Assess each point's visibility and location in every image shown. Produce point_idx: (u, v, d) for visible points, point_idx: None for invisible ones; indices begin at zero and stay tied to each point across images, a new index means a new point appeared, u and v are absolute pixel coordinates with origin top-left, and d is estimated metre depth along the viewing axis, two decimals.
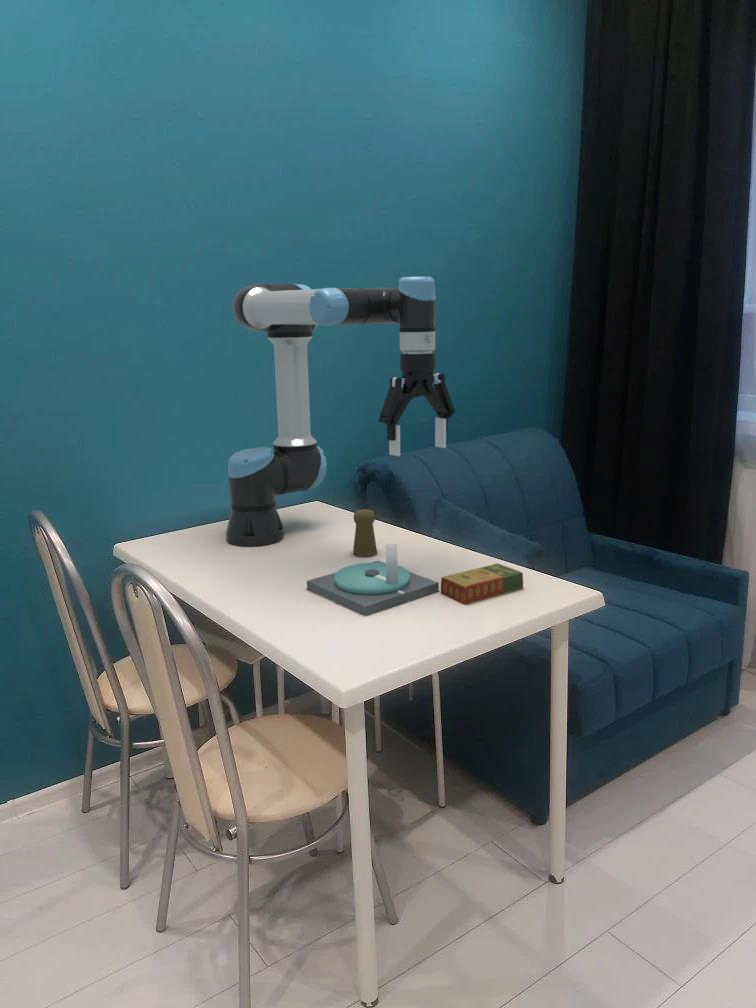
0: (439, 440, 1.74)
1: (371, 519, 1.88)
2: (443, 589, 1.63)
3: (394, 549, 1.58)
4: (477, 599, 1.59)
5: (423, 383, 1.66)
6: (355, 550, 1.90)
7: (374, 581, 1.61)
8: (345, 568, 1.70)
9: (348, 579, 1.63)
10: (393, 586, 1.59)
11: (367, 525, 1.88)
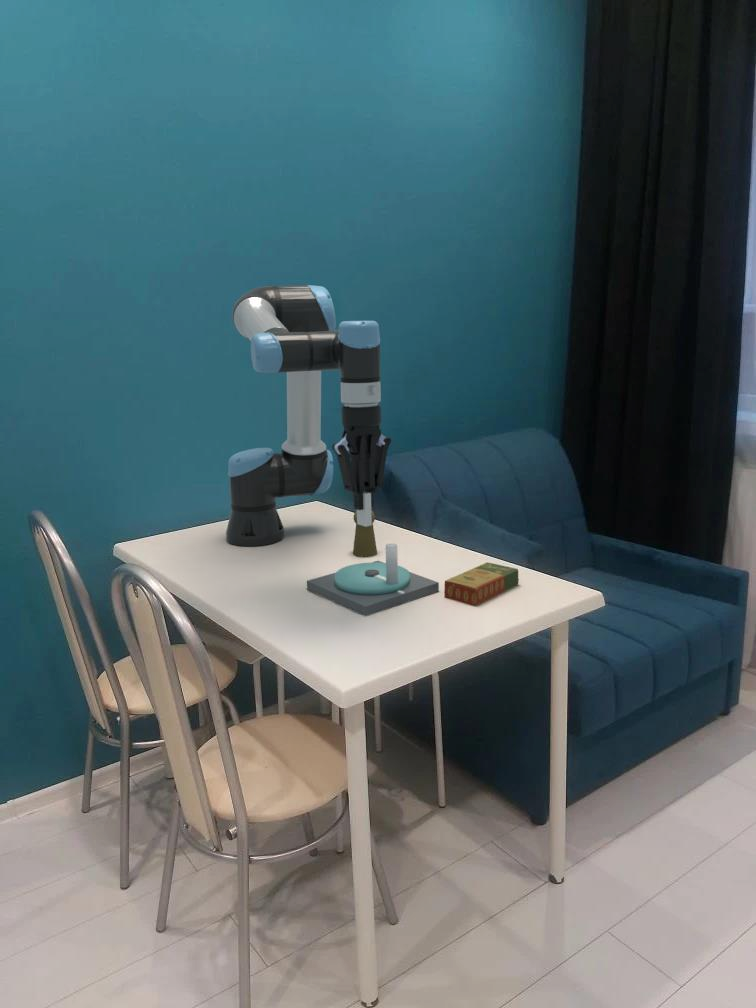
0: None
1: None
2: (447, 593, 1.61)
3: (394, 549, 1.58)
4: (485, 599, 1.59)
5: (368, 437, 1.48)
6: (355, 550, 1.90)
7: (374, 581, 1.61)
8: (345, 568, 1.70)
9: (348, 579, 1.63)
10: (393, 586, 1.59)
11: None
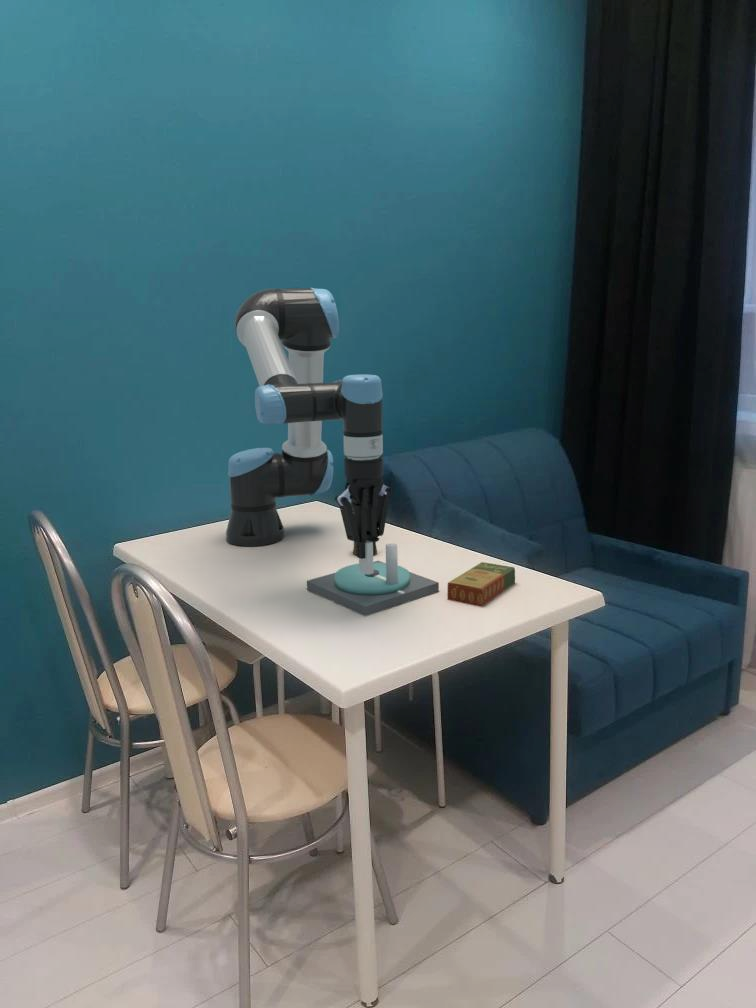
0: None
1: None
2: (451, 595, 1.60)
3: (394, 549, 1.58)
4: (489, 599, 1.59)
5: (370, 488, 1.51)
6: (355, 550, 1.90)
7: (374, 581, 1.61)
8: (345, 568, 1.70)
9: (348, 579, 1.63)
10: (393, 586, 1.59)
11: None
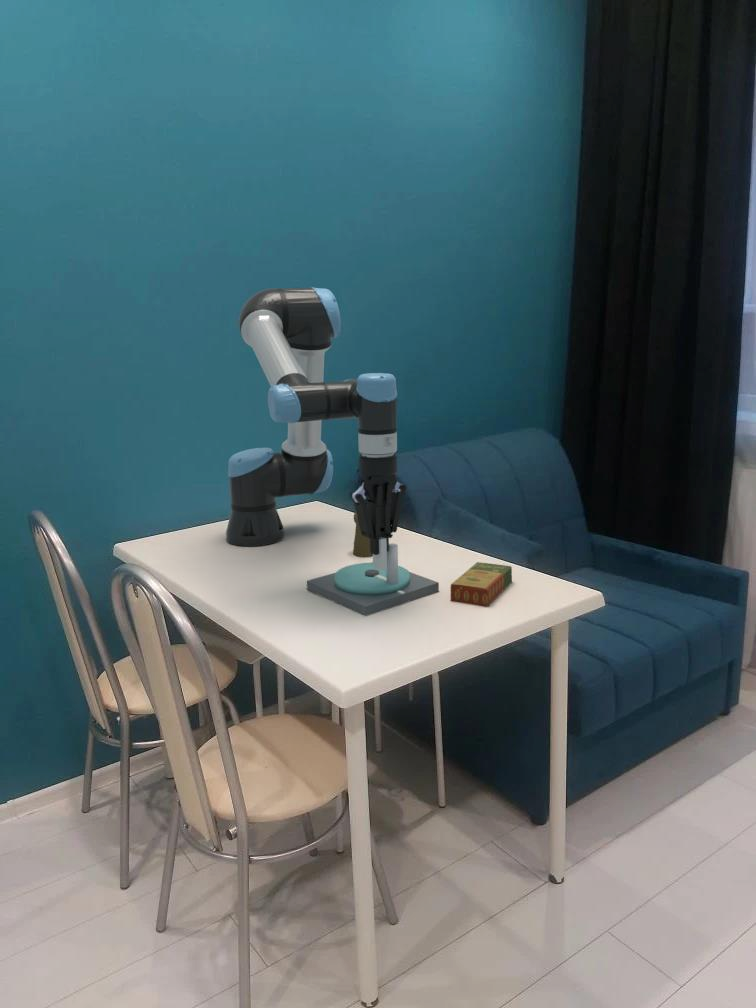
0: None
1: None
2: (454, 596, 1.59)
3: (394, 549, 1.58)
4: (493, 599, 1.59)
5: (384, 485, 1.53)
6: (355, 550, 1.90)
7: (374, 581, 1.61)
8: (345, 568, 1.70)
9: (348, 580, 1.63)
10: (393, 586, 1.59)
11: None
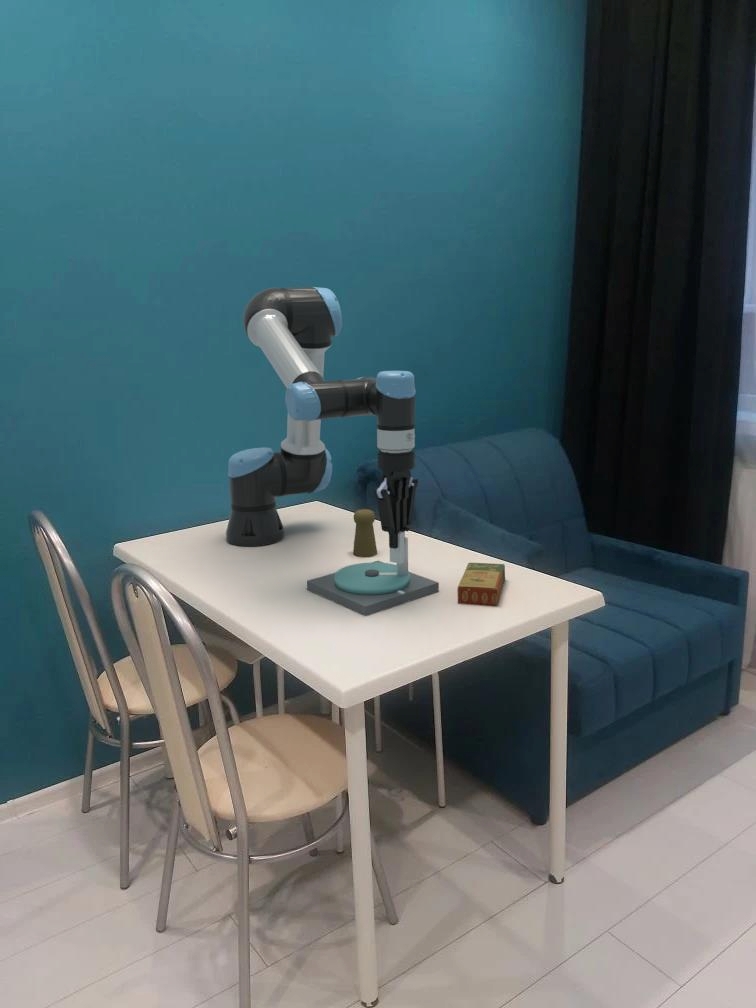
0: None
1: (371, 519, 1.88)
2: (462, 598, 1.58)
3: (407, 541, 1.63)
4: None
5: (403, 479, 1.57)
6: (355, 550, 1.90)
7: (389, 578, 1.63)
8: (338, 577, 1.64)
9: (366, 583, 1.60)
10: (409, 577, 1.65)
11: (367, 525, 1.88)
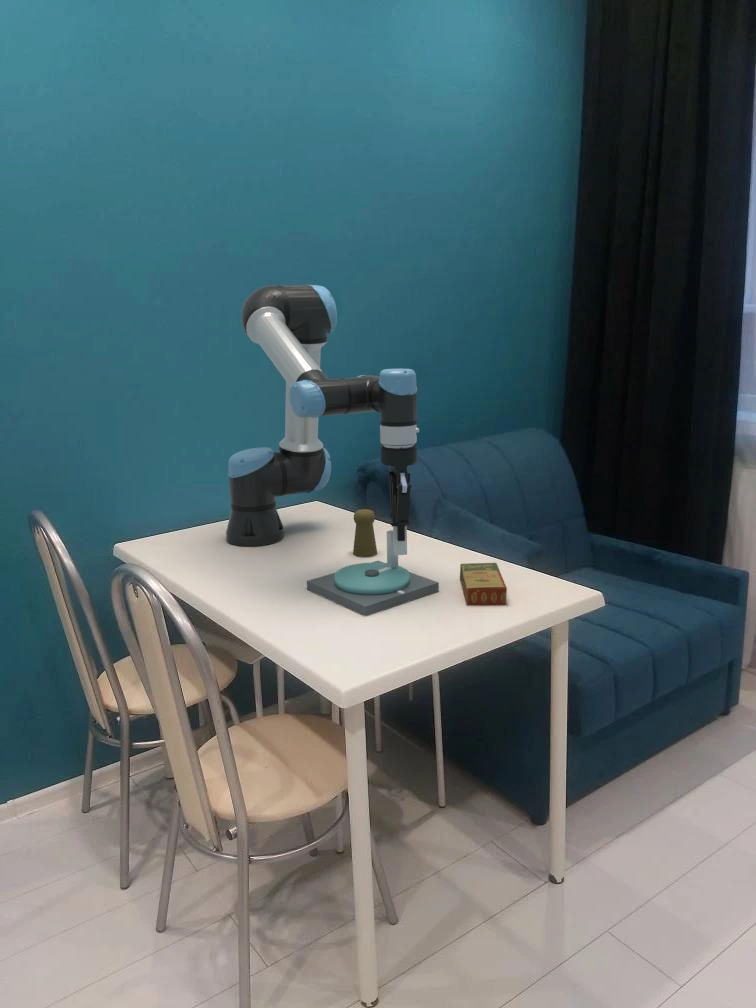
0: None
1: (371, 519, 1.88)
2: (471, 600, 1.57)
3: None
4: None
5: None
6: (355, 550, 1.90)
7: (392, 572, 1.67)
8: (354, 585, 1.60)
9: (389, 581, 1.61)
10: None
11: (367, 525, 1.88)
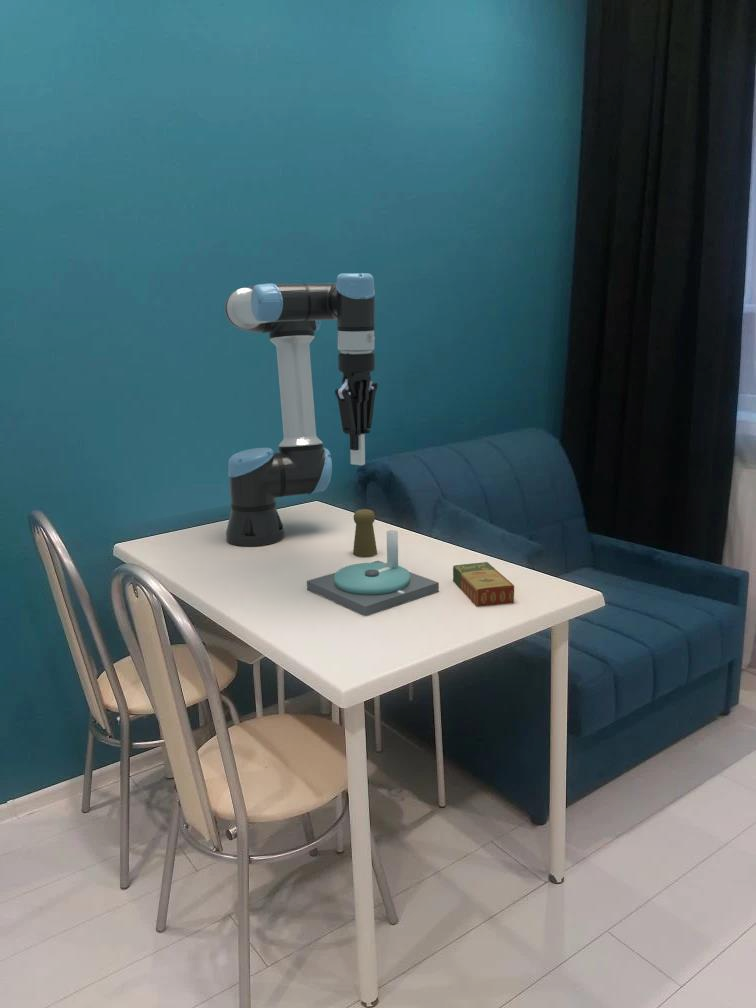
0: None
1: (371, 519, 1.88)
2: (481, 601, 1.57)
3: None
4: None
5: (363, 382, 1.61)
6: (355, 550, 1.90)
7: (392, 572, 1.67)
8: (354, 585, 1.60)
9: (389, 581, 1.61)
10: None
11: (367, 525, 1.88)
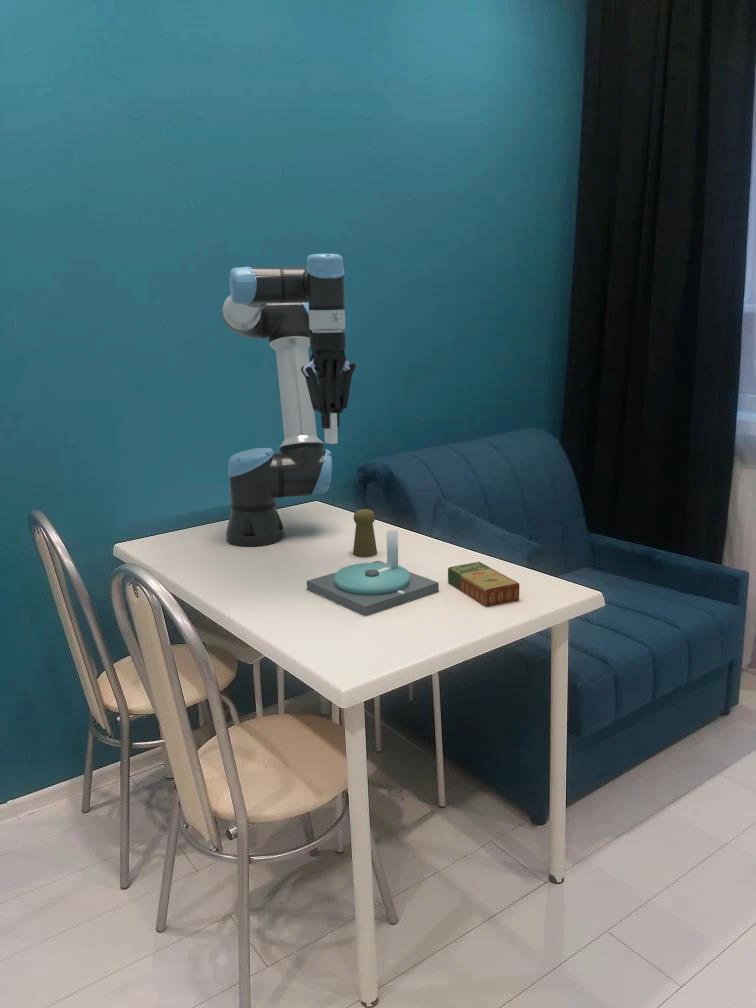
0: None
1: (371, 519, 1.88)
2: (489, 601, 1.57)
3: None
4: None
5: (334, 361, 1.64)
6: (355, 550, 1.90)
7: (392, 572, 1.67)
8: (354, 585, 1.60)
9: (389, 581, 1.61)
10: None
11: (367, 525, 1.88)
